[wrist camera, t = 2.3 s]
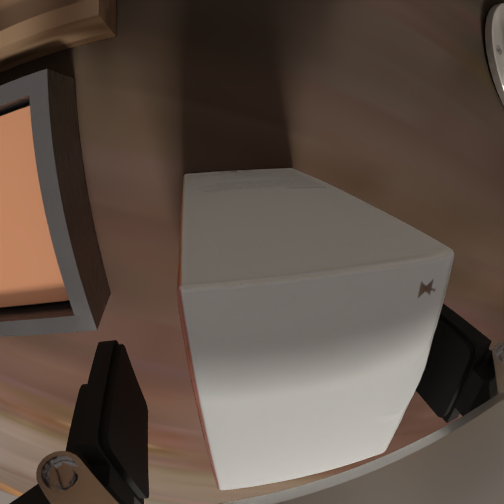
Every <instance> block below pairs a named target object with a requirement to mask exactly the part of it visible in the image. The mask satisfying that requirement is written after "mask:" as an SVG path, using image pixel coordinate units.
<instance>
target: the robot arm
mask: <svg viewBox="0 0 504 504" xmlns="http://www.w3.org/2000/svg"><path fill="white" fill-rule="evenodd" d="M485 43H486V52H487V57H488V63H489V67H490V71H491V74H492V78H493V81H494V84H495V87H496V90H497V92H498V94H499V97H500V99H501V101H502V103H503V105H504V3H501V4H497V5H495V6H493V7H492V8H491V9H490V11H489V13H488V15H487V18H486V25H485ZM490 344H491V340H489V339H488V338H487V337H486V336H484V335H483V334H482V333H481V332H479V331H478V330H477V329H476V328H474V327H473V326H472V325H471V324H469V323H468V322H467V321H466V320H464V319H463V318H462V317H460V316H459V315H458V314H456V313H455V312H454V311H453V310H451V309H450V308H449V307H447V306H446V305H445V304H443V305H442V309H441V312H440V316H439V319H438V323H437V327H436V330H435V333H434V335H433V339H432V343H431V347H430V351H429V355H428V359H427V363H426V366H425V369H424V372H423V374H422V377H421V379H420V382H419V384H418V386H417V388H416V391H417V392H418V393H419V395H420V396H421V397H422V398H423V399H424V400H425V402H426V403H427V404H428V405H429V406H430V408H431V409H432V410H433V411H434V412H435V414H436V415H437V416H438V417H442V418H443V419H444V420H445V422H446V423H448V422H450V421H452V420H453V419H455V418H457V417H458V415H459V413H460V414H461V415H462V417H461V418H459V419H457V420H455V421H454V422H452V423H450V424H448V425H447V426H445V427H443V428H441V429H439V430H438V431H436V432H434V433H432V434H430V435H428V436H426V437H424V438H422V439H420V440H418V441H416V442H414V443H412V444H410V445H408V446H406V447H404V448H402V449H399V450H397V451H395V452H393V453H390V454H388V455H386V456H384V457H381V458H379V459H376V460H374V461H372V462H369V463H367V464H364V465H361V466H359V467H356V468H354V469H351V470H348V471H345V472H343V473H340V474H337V475H334V476H331V477H328V478H325V479H322V480H318V481H315V482H312V483H309V484H305V485H302V486H298V487H295V488H291V489H287V490H283V491H279V492H275V493H271V494H266V495H262V496H257V497H252V498H247V499H242V500H237V501H231V502H225V503H220V504H504V342H501V343H497V344H496V345H495V346H494V347H493V349H492V351H490V350H489V346H490ZM36 478H37V481H38V484H37V485H36V486H34V487H33V488H32V489H30V490H29V491H27V492H26V493H24V494H23V495H22V496H20V497H19V498H17V499H16V500H14V501H13V502H12V503H10V504H144V498H148V497H149V481H148V409H147V404H146V401H145V399H144V396H143V394H142V392H141V389H140V386H139V384H138V381H137V379H136V376H135V373H134V371H133V368H132V365H131V363H130V360H129V357H128V354H127V351H126V348H125V346H124V345H123V344H118V342H117V341H116V340H113V341H103V342H99V343H98V346H97V349H96V353H95V357H94V360H93V364H92V368H91V372H90V376H89V380H88V384H83V385H82V386H81V388H80V390H79V394H78V398H77V402H76V406H75V410H74V414H73V419H72V423H71V428H70V432H69V437H68V442H67V447H66V451H59V452H54V453H52V454H49V455H47V456H46V457H45V458H44V459H43V460H42V461H41V462H40V464H39V465H38V468H37V472H36Z"/></svg>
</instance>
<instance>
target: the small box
mask: <svg viewBox="0 0 504 504" xmlns="http://www.w3.org/2000/svg"><path fill="white" fill-rule="evenodd" d="M453 259H454V252H453V250H452V249H450V248H449V247H447V246H445V245H444V244H442V243H440V242H438V241H437V240H435V239H433V238H431V237H430V236H428V235H426V234H424V233H423V232H421V231H419V230H417V229H415V228H413V227H412V226H410V225H408V224H406V223H404V222H402V221H401V220H399V219H397V218H395V217H393V216H391V215H389V214H387V213H385V212H383V211H381V210H379V209H377V208H375V207H374V206H372V205H370V204H368V203H366V202H364V201H362V200H360V199H358V198H356V197H354V196H352V195H350V194H348V193H346V192H344V191H342V190H340V189H338V188H336V187H334V186H332V185H330V184H327V183H325V182H323V181H321V180H319V179H317V178H314V177H312V176H310V175H307V174H305V173H302V172H300V171H298V170H296V169H293V168H282V169H256V170H236V171H219V172H204V173H191V174H185V175H184V176H183V195H182V207H181V225H180V249H179V269H178V283H177V297H178V307H179V314H180V320H181V327H182V333H183V339H184V344H185V350H186V355H187V361H188V366H189V372H190V377H191V382H192V387H193V391H194V396H195V400H196V405H197V409H198V414H199V418H200V423H201V427H202V431H203V436H204V439H205V443H206V447H207V451H208V454H209V458H210V462H211V466H212V470H213V474H214V477H215V480H216V484H217V487H218V489H219V490H230V489H237V488H245V487H252V486H258V485H263V484H269V483H275V482H280V481H285V480H290V479H295V478H300V477H304V476H308V475H312V474H316V473H320V472H324V471H328V470H331V469H335V468H338V467H341V466H345V465H348V464H351V463H354V462H358V461H361V460H364V459H366V458H369V457H372V456H375V455H378V454H381V453H383V452H384V451H386V449H387V447H388V445H389V443H390V441H391V439H392V438H393V435H394V433H395V431H396V429H397V427H398V425H399V423H400V421H401V419H402V417H403V415H404V412H405V410H406V408H407V406H408V404H409V402H410V400H411V398H412V396H413V394H414V392H415V390H416V388H417V386H418V384H419V382H420V379H421V377H422V374H423V372H424V369H425V366H426V363H427V359H428V355H429V351H430V347H431V343H432V339H433V335H434V333H435V330H436V327H437V323H438V319H439V316H440V312H441V309H442V305H443V301H444V297H445V293H446V289H447V284H448V280H449V276H450V272H451V268H452V264H453Z"/></svg>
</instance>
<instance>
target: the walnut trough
mask: <svg viewBox="0 0 504 504" xmlns="http://www.w3.org/2000/svg"><path fill="white" fill-rule="evenodd" d="M112 37H116V0H0V73H1V72H4V71H6V70H8V69H11V68H13V67H16V66H18V65H21V64H24V63H26V62H29V61H32V60H34V59H37V58H40V57H43V56H46V55H49V54H52V53H55V52H59V51H62V50H65V49H69V48H72V47H76V46H79V45H83V44H87V43H91V42H95V41H99V40H103V39H108V38H112Z"/></svg>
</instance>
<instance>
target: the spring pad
mask: <svg viewBox="0 0 504 504" xmlns="http://www.w3.org/2000/svg"><path fill="white" fill-rule="evenodd" d="M67 300H69V298H68V295H67V292H66V289H65V286H64V283H63V279H62V276H61V273H60V269H59V266H58V262H57V259H56V255H55V252H54V248H53V244H52V240H51V236H50V232H49V228H48V224H47V219H46V215H45V210H44V205H43V201H42V195H41V190H40V185H39V179H38V173H37V166H36V160H35V152H34V144H33V136H32V126H31V114H30V106H28V107H25V108H22V109H19V110H16V111H13V112H11V113H8V114H5V115H3V116H0V307H10V306H20V305H30V304H40V303H49V302H58V301H67Z"/></svg>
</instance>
